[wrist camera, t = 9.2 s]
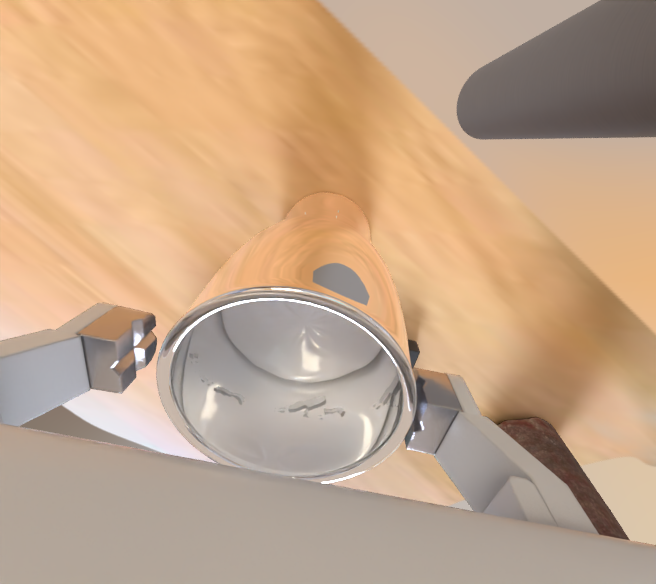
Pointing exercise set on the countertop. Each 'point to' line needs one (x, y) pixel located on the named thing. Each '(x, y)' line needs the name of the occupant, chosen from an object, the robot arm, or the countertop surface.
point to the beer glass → (295, 352)
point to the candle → (563, 469)
